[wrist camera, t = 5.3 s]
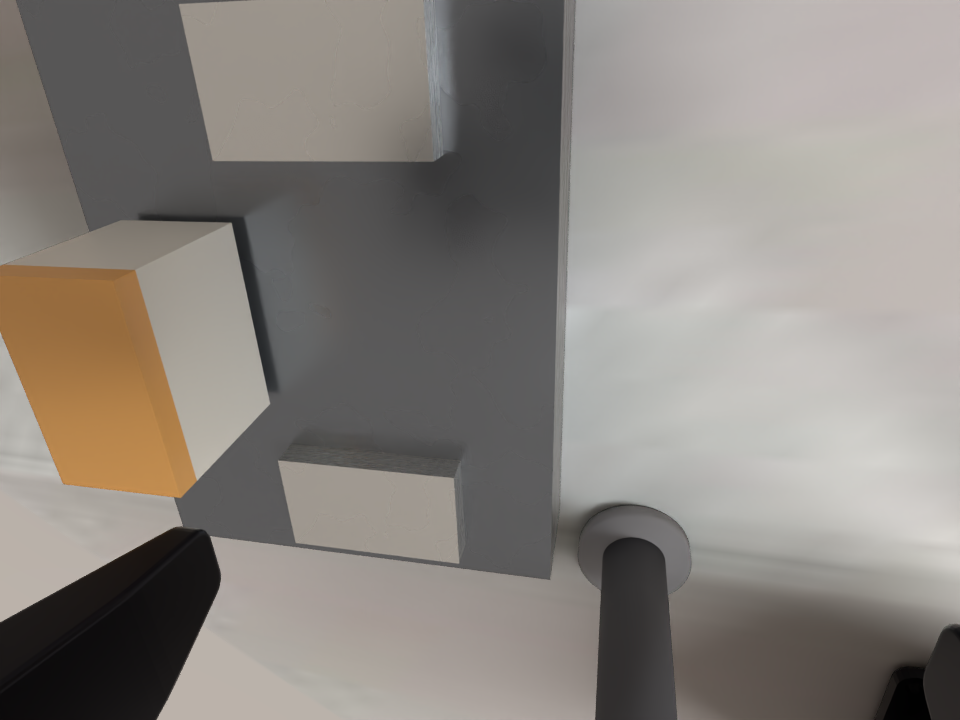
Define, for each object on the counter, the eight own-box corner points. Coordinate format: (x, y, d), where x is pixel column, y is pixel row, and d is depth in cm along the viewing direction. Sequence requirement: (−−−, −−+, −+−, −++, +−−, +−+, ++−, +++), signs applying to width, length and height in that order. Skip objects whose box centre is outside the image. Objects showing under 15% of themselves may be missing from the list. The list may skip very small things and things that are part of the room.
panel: (559, 512, 21) (547, 601, 18) (234, 476, 24) (170, 549, 20) (577, -58, 14) (561, -85, 11) (103, -28, 16) (-31, -43, 13)
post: (683, 593, 22) (715, 910, 14) (577, 580, 22) (551, 874, 15) (696, 511, 20) (740, 817, 12) (581, 499, 21) (554, 783, 13)
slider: (270, 404, 17) (180, 498, 14) (172, 395, 18) (63, 484, 14) (231, 222, 15) (112, 280, 12) (121, 220, 16) (-23, 274, 12)
